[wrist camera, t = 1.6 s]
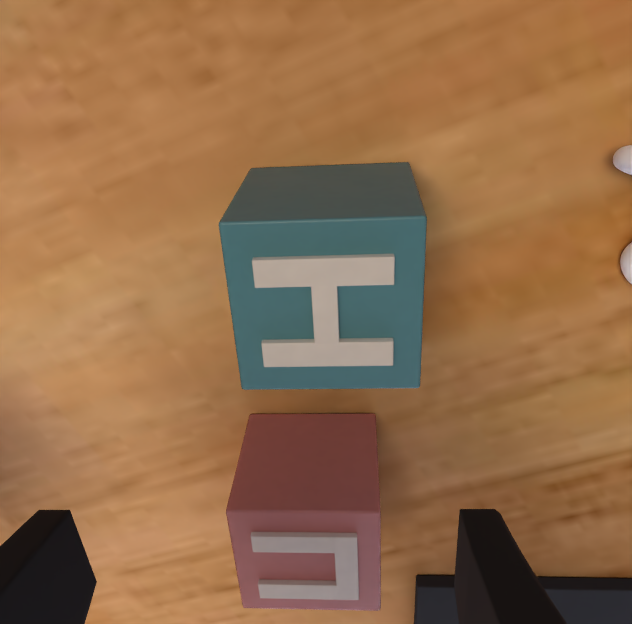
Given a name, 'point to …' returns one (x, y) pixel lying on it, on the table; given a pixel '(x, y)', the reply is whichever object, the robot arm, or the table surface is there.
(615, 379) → the table surface
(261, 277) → the block
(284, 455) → the block
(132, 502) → the table surface
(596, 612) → the word mat
